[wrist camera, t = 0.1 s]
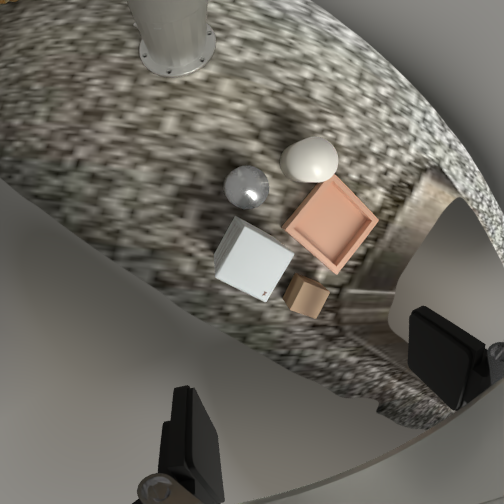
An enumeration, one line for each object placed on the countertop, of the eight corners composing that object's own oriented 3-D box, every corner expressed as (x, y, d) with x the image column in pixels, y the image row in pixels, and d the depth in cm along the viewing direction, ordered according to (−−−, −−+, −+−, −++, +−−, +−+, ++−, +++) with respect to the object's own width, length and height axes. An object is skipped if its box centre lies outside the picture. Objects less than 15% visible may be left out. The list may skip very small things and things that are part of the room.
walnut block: (282, 298, 50) (290, 309, 46) (295, 272, 50) (304, 281, 45) (306, 307, 52) (315, 318, 47) (319, 282, 51) (330, 292, 46)
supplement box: (274, 236, 48) (297, 254, 36) (251, 275, 49) (266, 305, 36) (235, 213, 46) (245, 224, 34) (211, 254, 47) (213, 278, 35)
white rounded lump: (272, 164, 45) (285, 160, 37) (296, 135, 45) (313, 127, 37) (301, 190, 47) (319, 192, 39) (325, 161, 46) (346, 158, 38)
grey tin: (215, 189, 45) (216, 190, 39) (239, 160, 44) (244, 156, 38) (244, 213, 46) (250, 218, 40) (268, 184, 46) (277, 184, 40)
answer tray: (281, 227, 48) (285, 229, 45) (326, 172, 47) (332, 171, 44) (330, 270, 51) (336, 274, 48) (371, 218, 50) (378, 220, 47)
